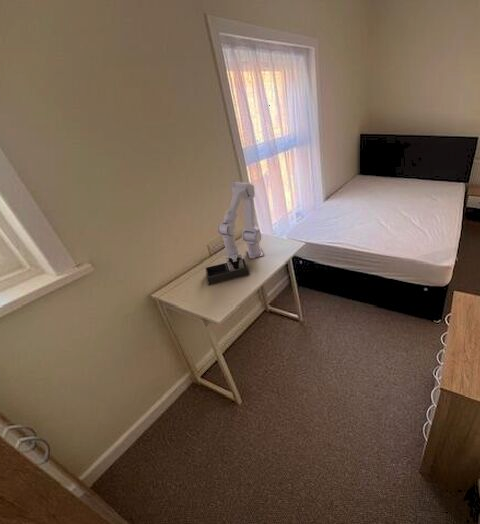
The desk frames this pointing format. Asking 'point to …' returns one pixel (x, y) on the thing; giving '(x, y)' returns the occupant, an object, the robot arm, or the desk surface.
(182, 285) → the desk surface
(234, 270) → the medicine box
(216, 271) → the organizer
